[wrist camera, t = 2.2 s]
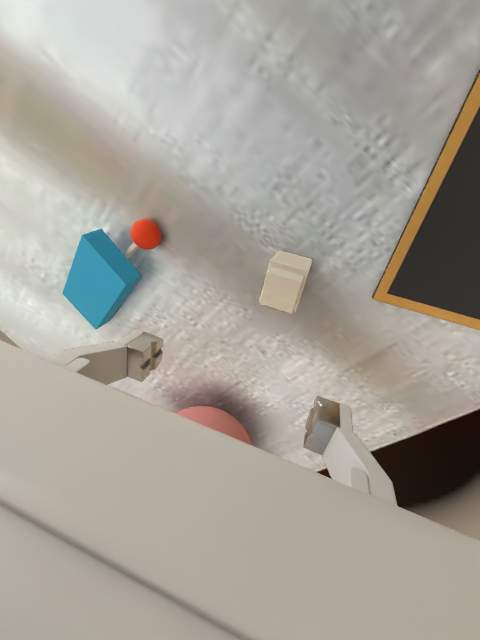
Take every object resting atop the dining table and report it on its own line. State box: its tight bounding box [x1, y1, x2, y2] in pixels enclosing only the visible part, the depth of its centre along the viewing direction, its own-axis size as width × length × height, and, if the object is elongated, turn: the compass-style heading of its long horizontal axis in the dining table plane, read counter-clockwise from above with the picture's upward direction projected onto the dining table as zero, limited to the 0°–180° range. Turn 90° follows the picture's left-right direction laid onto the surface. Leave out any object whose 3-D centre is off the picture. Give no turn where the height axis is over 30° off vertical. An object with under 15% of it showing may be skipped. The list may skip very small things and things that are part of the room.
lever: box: [63, 219, 161, 329], centre depth 36 cm, size 7×7×18 cm
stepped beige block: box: [259, 250, 313, 314], centre depth 27 cm, size 4×4×7 cm
